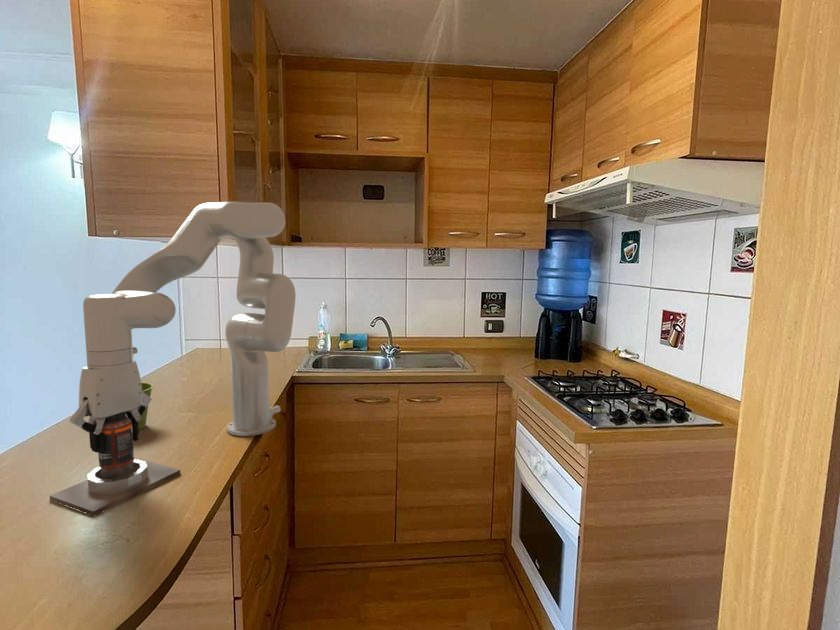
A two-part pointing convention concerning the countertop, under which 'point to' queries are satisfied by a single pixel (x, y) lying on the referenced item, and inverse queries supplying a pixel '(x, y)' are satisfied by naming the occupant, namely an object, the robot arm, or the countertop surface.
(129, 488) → the steel collar
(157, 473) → the holder board
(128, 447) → the supplement bottle
